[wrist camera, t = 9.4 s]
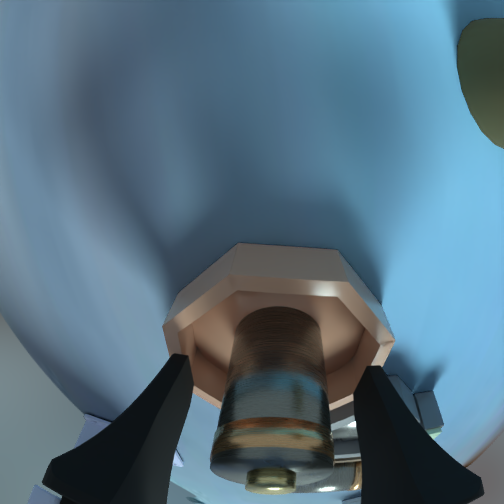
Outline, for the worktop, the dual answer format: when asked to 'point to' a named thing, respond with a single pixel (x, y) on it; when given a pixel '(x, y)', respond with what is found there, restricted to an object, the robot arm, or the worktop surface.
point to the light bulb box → (352, 501)
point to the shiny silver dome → (345, 433)
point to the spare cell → (337, 479)
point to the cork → (484, 74)
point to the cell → (275, 405)
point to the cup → (279, 294)
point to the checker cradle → (418, 404)
